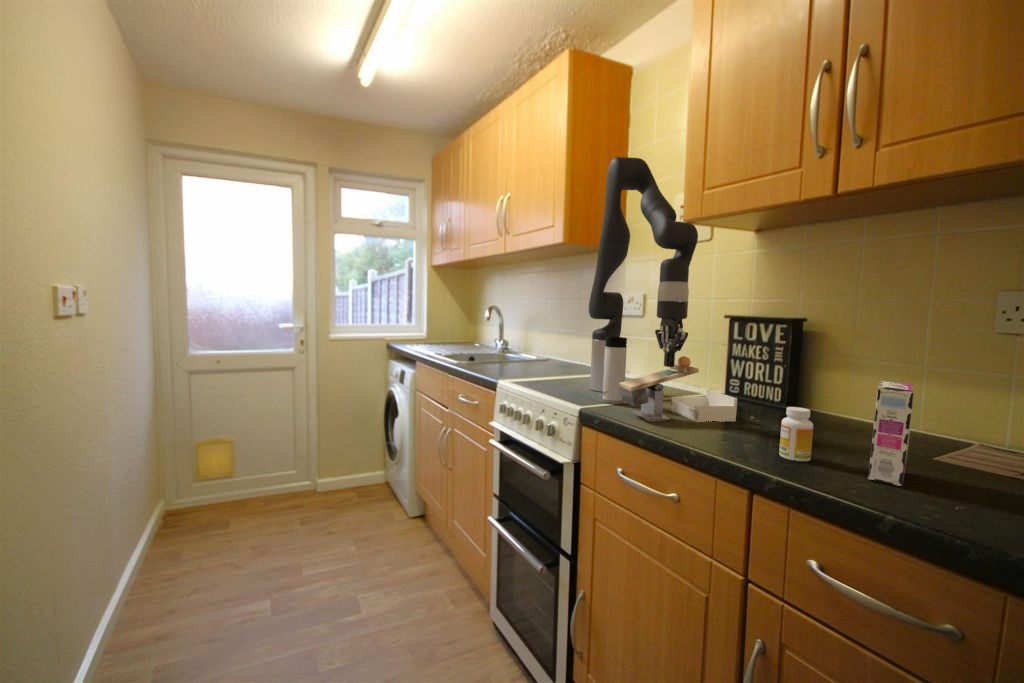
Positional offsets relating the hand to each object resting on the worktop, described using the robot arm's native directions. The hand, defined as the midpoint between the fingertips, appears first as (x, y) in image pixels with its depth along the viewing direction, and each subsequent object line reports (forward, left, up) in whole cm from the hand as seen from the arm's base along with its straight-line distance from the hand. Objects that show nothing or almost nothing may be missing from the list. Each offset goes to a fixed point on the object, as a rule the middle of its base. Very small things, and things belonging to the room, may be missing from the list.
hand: (669, 366), depth 123 cm
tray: (0, +11, -13) cm, 17 cm away
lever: (0, -2, -7) cm, 7 cm away
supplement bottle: (+34, +9, -14) cm, 38 cm away
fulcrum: (0, -4, -13) cm, 14 cm away
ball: (0, +4, +1) cm, 4 cm away
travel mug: (-18, -7, -14) cm, 24 cm away
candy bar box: (+45, +18, -14) cm, 50 cm away
